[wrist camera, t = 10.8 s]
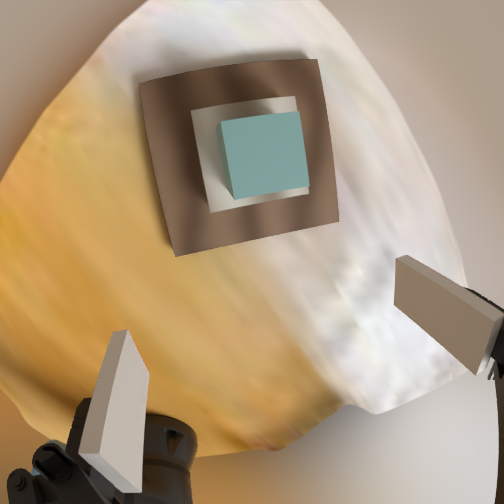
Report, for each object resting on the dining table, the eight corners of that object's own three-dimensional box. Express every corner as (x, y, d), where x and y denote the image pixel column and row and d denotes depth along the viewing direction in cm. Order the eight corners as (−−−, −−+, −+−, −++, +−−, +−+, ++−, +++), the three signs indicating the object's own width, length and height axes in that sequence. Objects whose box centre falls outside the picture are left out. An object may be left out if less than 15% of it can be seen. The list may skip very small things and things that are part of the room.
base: (176, 252, 34) (172, 271, 29) (141, 86, 27) (130, 75, 22) (334, 218, 37) (354, 230, 31) (312, 62, 29) (331, 50, 24)
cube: (226, 189, 27) (234, 200, 22) (215, 127, 25) (220, 121, 20) (287, 177, 28) (309, 186, 23) (278, 117, 26) (299, 111, 20)
